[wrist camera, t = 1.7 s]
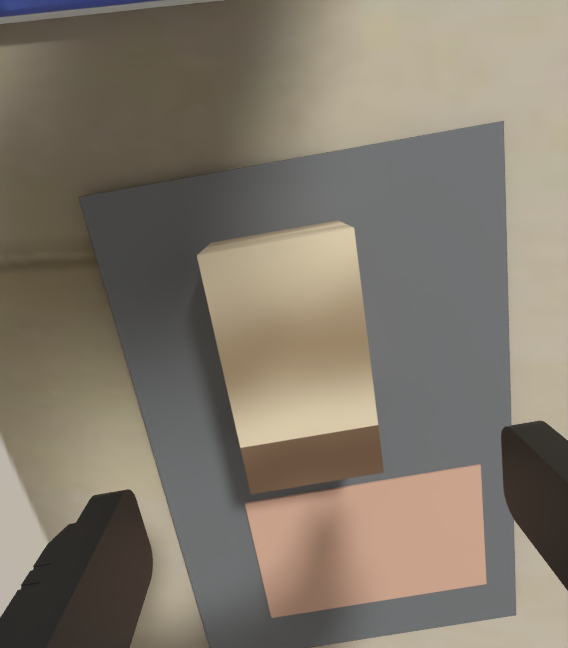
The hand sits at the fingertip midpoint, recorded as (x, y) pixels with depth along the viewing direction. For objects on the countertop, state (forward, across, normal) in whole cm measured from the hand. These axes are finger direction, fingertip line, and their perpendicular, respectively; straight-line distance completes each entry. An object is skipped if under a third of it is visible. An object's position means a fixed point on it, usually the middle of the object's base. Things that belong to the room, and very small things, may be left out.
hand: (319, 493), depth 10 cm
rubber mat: (+10, -1, +4) cm, 11 cm away
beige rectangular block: (+10, 0, 0) cm, 10 cm away
